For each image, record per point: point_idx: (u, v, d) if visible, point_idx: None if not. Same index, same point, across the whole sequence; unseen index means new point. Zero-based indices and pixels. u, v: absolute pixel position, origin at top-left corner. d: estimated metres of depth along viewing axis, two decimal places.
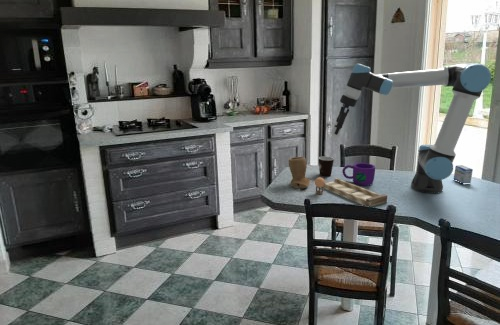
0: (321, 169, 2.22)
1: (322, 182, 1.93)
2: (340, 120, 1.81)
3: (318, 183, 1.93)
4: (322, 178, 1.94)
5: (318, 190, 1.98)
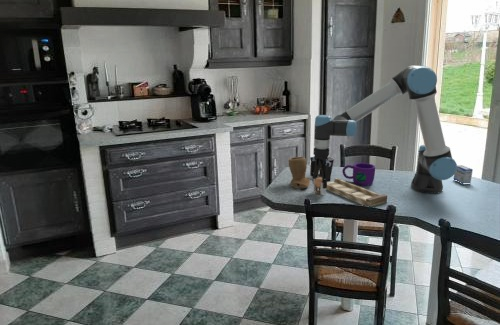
0: None
1: None
2: (328, 175, 1.88)
3: (318, 183, 1.93)
4: None
5: (318, 190, 1.98)
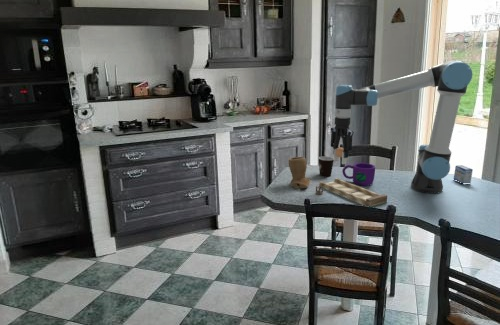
0: (321, 169, 2.22)
1: None
2: (349, 144, 1.91)
3: (339, 153, 1.95)
4: None
5: (318, 190, 1.98)
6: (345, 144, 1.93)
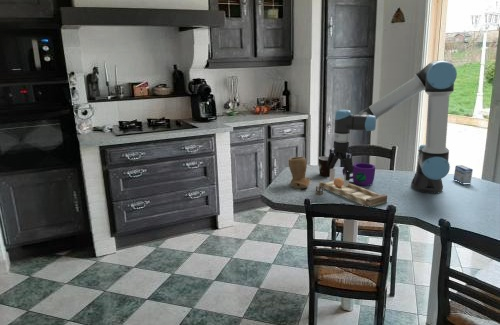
0: (321, 169, 2.22)
1: (341, 182, 2.00)
2: (350, 167, 1.93)
3: (337, 183, 2.00)
4: (341, 178, 2.01)
5: (318, 190, 1.98)
6: (346, 167, 1.95)
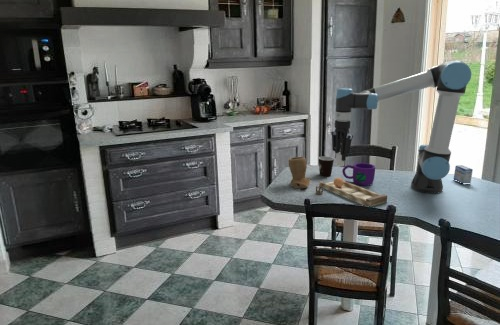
0: (321, 169, 2.22)
1: (341, 182, 2.00)
2: (347, 148, 1.92)
3: (337, 183, 2.00)
4: (341, 178, 2.01)
5: (318, 190, 1.98)
6: (343, 147, 1.94)
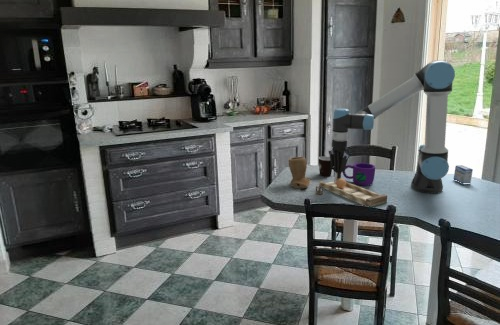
0: (321, 169, 2.22)
1: (343, 185, 1.99)
2: (343, 167, 1.97)
3: (339, 185, 1.99)
4: (344, 181, 1.99)
5: (318, 190, 1.98)
6: (339, 166, 1.99)
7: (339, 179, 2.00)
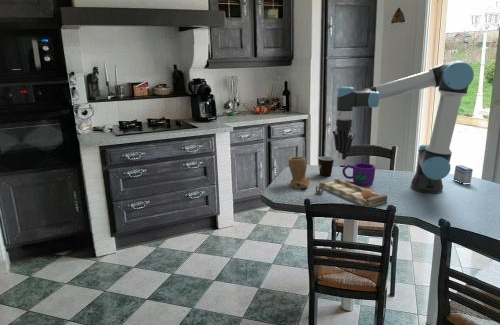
0: (321, 169, 2.22)
1: None
2: (348, 147, 1.92)
3: (364, 197, 1.85)
4: (371, 195, 1.85)
5: (318, 190, 1.98)
6: (344, 146, 1.94)
7: (367, 191, 1.84)
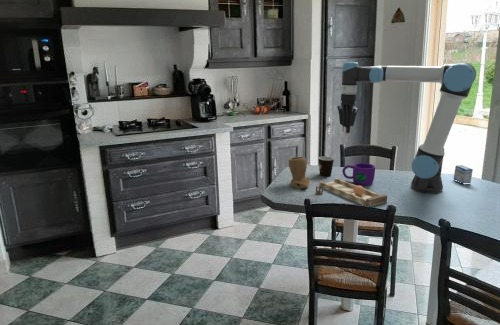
0: (321, 169, 2.22)
1: (361, 187, 1.88)
2: (352, 120, 1.99)
3: (357, 190, 1.88)
4: None
5: (318, 190, 1.98)
6: (348, 120, 2.01)
7: (354, 188, 1.91)
